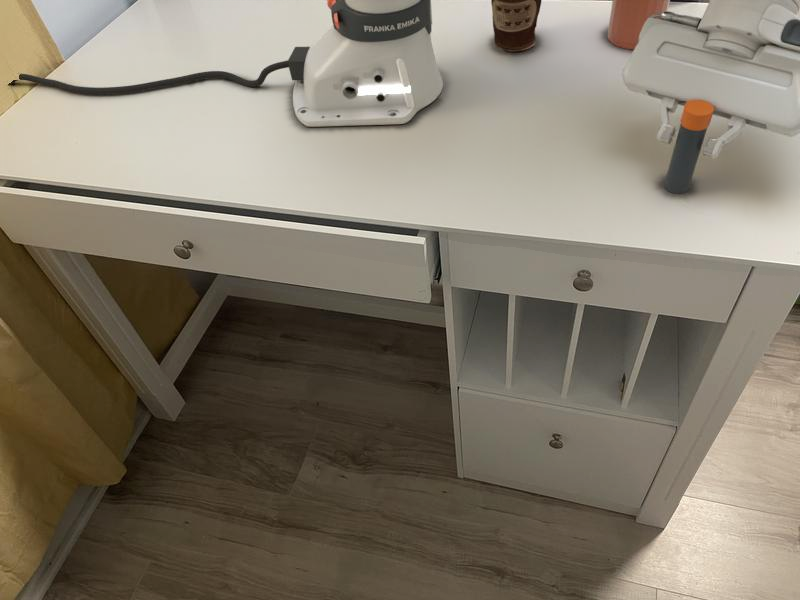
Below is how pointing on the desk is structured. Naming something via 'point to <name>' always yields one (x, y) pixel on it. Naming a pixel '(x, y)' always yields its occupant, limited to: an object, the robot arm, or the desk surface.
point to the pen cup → (631, 20)
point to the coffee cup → (515, 23)
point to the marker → (688, 145)
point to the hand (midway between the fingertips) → (685, 148)
